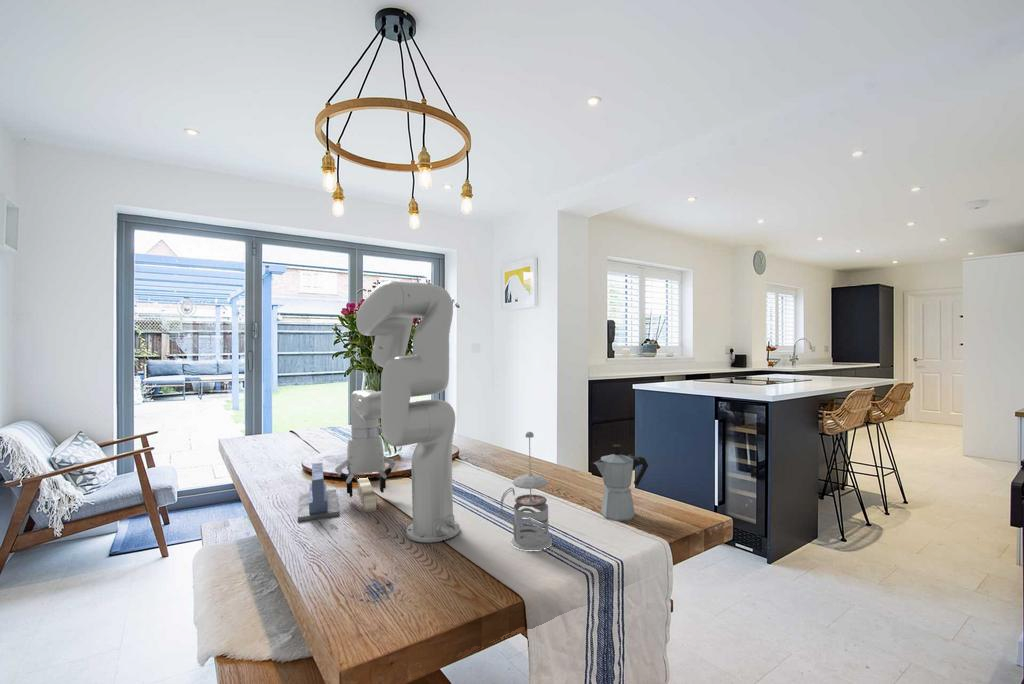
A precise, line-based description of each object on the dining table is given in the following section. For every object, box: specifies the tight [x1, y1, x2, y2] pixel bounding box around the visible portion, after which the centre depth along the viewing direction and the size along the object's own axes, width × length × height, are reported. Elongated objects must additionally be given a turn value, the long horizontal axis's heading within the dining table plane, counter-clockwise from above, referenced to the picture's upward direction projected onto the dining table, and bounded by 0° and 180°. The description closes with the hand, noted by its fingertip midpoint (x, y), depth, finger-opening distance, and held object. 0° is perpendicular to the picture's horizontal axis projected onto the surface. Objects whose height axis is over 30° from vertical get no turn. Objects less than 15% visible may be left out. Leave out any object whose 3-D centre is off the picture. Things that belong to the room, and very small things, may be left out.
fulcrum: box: [297, 462, 340, 523], centre depth 134 cm, size 20×10×10 cm, turn 22°
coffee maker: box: [593, 444, 649, 522], centre depth 124 cm, size 15×9×18 cm, turn 102°
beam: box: [357, 477, 377, 513], centre depth 139 cm, size 20×3×4 cm, turn 23°
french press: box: [500, 431, 553, 550], centre depth 108 cm, size 10×12×25 cm
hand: (366, 493), depth 139 cm, fingers open, 8 cm apart
